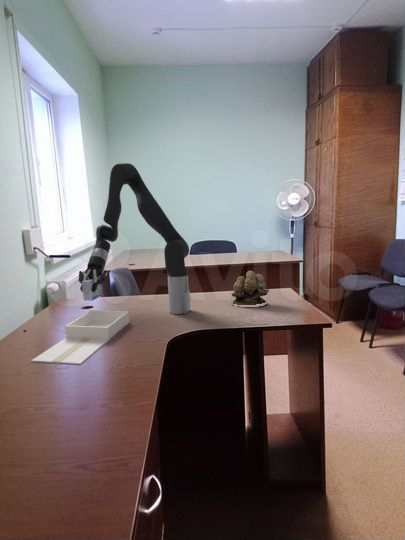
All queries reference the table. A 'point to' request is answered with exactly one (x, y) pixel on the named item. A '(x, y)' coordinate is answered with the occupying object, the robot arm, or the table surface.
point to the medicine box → (87, 290)
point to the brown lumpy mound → (249, 289)
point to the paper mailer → (85, 337)
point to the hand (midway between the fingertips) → (87, 291)
